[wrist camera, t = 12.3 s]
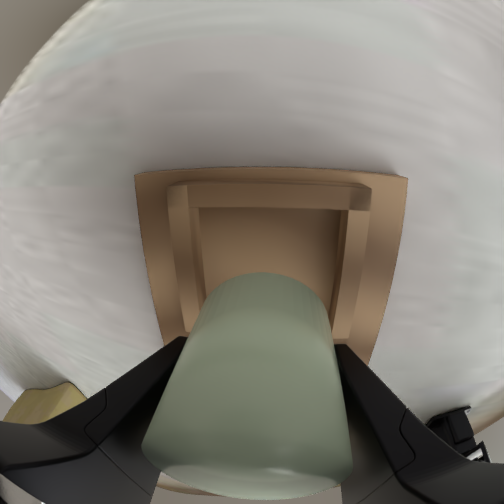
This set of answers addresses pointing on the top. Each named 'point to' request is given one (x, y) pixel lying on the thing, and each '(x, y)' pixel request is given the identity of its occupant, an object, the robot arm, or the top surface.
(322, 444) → the sage jar
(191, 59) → the top surface
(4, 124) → the top surface
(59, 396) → the cheese
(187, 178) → the tray
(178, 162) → the top surface
